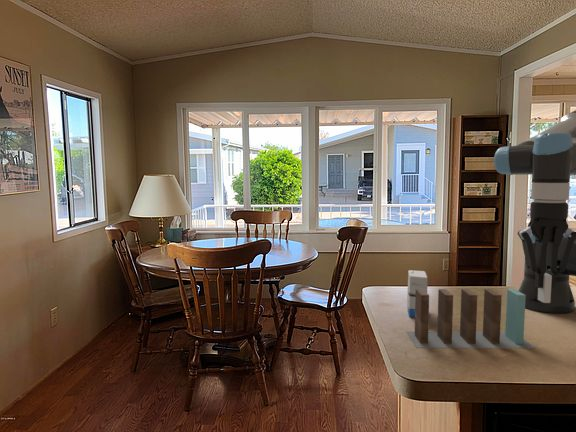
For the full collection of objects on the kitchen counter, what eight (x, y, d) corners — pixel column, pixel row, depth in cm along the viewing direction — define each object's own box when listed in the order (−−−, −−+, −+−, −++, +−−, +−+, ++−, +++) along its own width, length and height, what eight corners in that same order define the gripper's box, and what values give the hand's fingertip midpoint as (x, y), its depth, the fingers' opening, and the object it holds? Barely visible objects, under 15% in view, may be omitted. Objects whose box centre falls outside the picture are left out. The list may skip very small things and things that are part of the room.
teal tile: (512, 335, 108) (514, 289, 107) (523, 343, 103) (525, 295, 102) (505, 335, 108) (507, 289, 107) (515, 343, 103) (517, 295, 102)
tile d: (444, 335, 109) (446, 289, 107) (451, 343, 103) (453, 295, 102) (437, 335, 109) (438, 289, 107) (443, 343, 103) (445, 295, 102)
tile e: (422, 335, 109) (423, 289, 108) (427, 343, 104) (429, 295, 102) (414, 335, 109) (415, 289, 108) (420, 343, 104) (421, 295, 102)
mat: (514, 333, 110) (515, 331, 110) (535, 349, 100) (536, 348, 100) (405, 333, 111) (405, 331, 111) (415, 349, 101) (415, 347, 101)
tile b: (490, 335, 108) (492, 289, 107) (499, 343, 103) (501, 295, 102) (482, 335, 108) (484, 289, 107) (491, 343, 103) (493, 295, 102)
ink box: (427, 319, 121) (428, 277, 120) (408, 318, 122) (409, 276, 121) (424, 309, 130) (425, 270, 128) (406, 308, 131) (407, 269, 129)
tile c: (467, 335, 108) (469, 289, 107) (475, 343, 103) (477, 295, 102) (459, 335, 108) (461, 289, 107) (467, 343, 103) (469, 295, 102)
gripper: (568, 199, 105) (562, 296, 108) (512, 200, 106) (508, 296, 108) (588, 202, 98) (582, 306, 100) (528, 202, 98) (523, 306, 101)
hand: (543, 301), depth 104 cm, fingers closed
